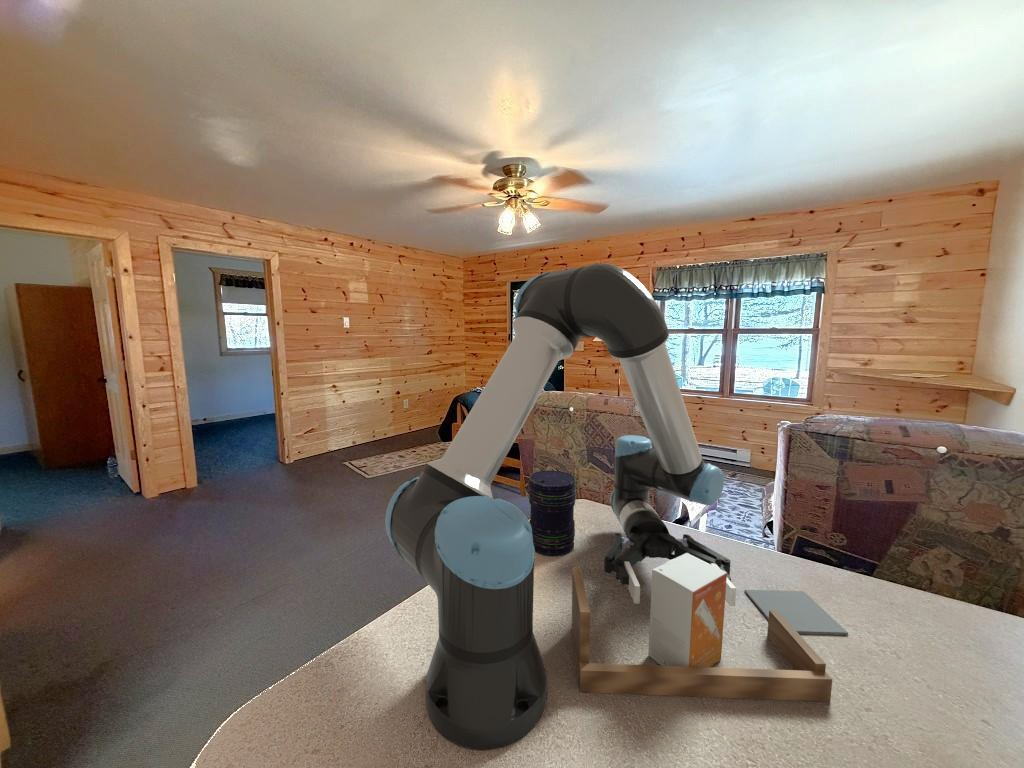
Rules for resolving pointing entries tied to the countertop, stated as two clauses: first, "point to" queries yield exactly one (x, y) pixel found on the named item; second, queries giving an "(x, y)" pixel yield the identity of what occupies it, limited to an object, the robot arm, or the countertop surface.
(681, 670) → the wooden u-shaped frame
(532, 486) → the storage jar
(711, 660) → the small box
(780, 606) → the mat
